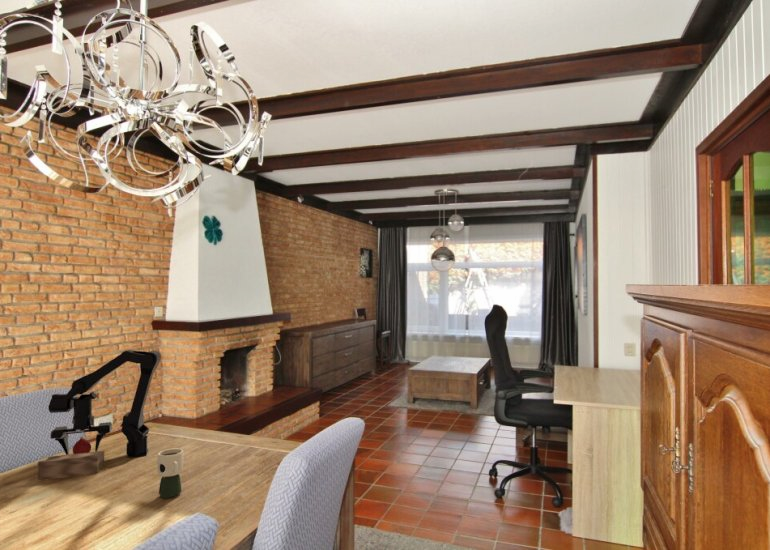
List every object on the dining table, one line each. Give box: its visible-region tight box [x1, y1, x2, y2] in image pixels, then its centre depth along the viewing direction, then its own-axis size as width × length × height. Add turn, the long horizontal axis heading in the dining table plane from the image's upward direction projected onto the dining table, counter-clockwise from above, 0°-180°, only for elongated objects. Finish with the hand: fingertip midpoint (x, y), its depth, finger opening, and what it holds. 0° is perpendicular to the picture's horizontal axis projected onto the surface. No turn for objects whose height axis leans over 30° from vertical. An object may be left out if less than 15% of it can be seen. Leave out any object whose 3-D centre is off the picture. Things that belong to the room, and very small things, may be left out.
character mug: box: [156, 447, 184, 499], centre depth 142 cm, size 11×7×13 cm, turn 41°
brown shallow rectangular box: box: [37, 450, 105, 481], centre depth 162 cm, size 17×12×6 cm
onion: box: [72, 436, 92, 454], centre depth 175 cm, size 6×6×8 cm
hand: (82, 453), depth 175 cm, fingers open, 9 cm apart
